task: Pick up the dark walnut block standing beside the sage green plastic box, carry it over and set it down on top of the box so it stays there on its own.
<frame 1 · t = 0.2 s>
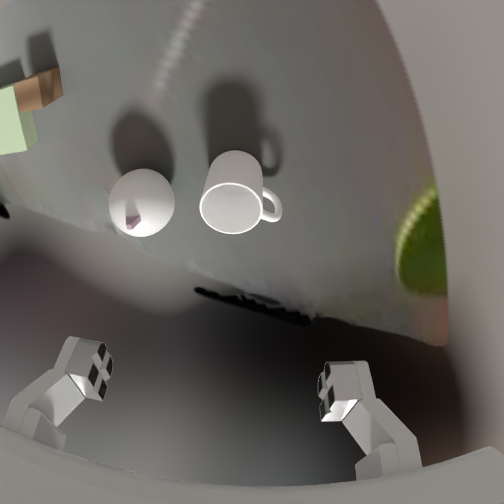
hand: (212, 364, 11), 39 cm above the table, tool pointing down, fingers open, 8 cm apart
cup: (246, 176, 49), on the table
ornament: (150, 184, 50), on the table
walnut block: (49, 83, 36), on the table
base box: (10, 115, 39), on the table
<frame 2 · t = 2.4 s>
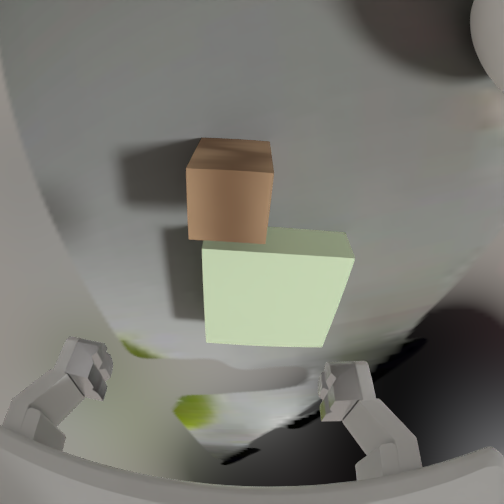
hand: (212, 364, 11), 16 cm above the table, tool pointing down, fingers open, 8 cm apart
ornament: (491, 36, 15), on the table
walnut block: (233, 169, 24), on the table
base box: (270, 276, 31), on the table
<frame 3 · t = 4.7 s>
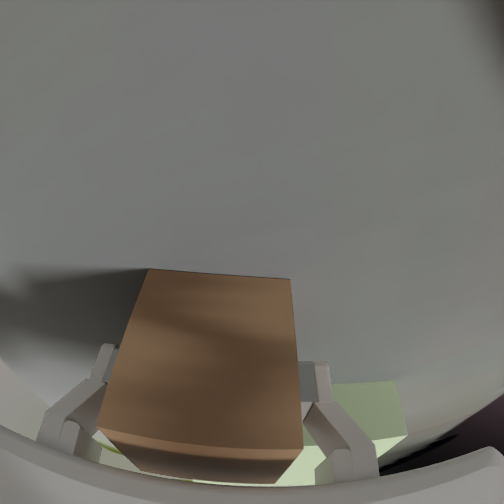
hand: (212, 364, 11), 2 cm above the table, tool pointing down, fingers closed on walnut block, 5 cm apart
walnut block: (218, 321, 12), on the table, touching gripper
base box: (278, 419, 19), on the table
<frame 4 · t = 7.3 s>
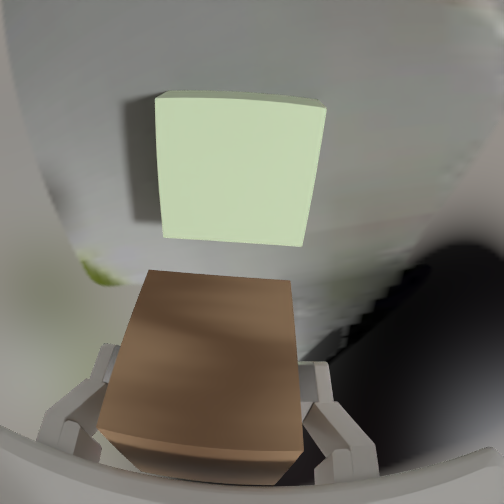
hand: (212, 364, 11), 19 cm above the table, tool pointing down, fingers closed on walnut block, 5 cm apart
walnut block: (218, 322, 12), point 17 cm above the table, touching gripper
base box: (238, 158, 26), on the table
when the fingers open (8 cm above the table, at t = 10.3 s): walnut block drops 2 cm, point 3 cm above the table.
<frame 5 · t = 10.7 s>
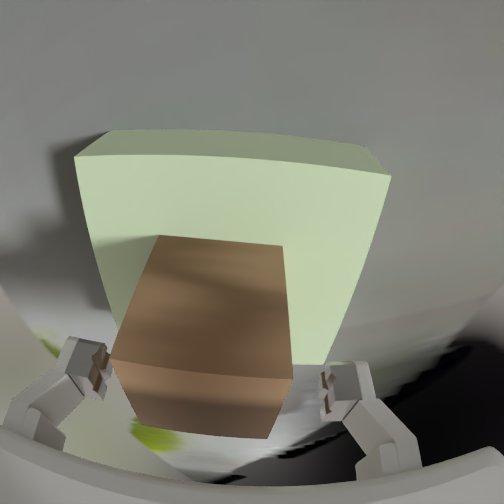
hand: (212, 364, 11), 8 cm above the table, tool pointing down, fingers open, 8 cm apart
walnut block: (217, 286, 14), point 3 cm above the table
base box: (229, 236, 17), on the table
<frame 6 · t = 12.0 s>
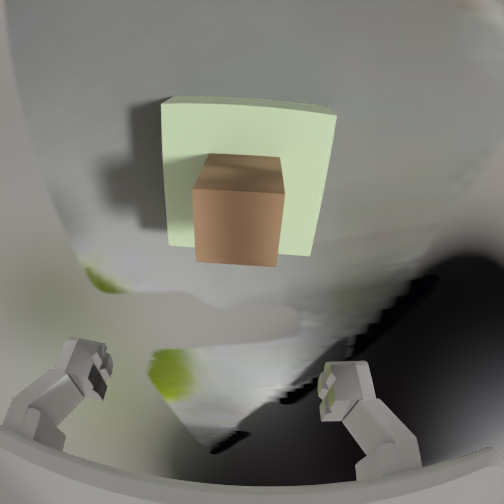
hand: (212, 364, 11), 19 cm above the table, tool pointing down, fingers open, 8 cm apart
walnut block: (242, 186, 23), point 3 cm above the table, touching base box
base box: (245, 165, 26), on the table, touching walnut block
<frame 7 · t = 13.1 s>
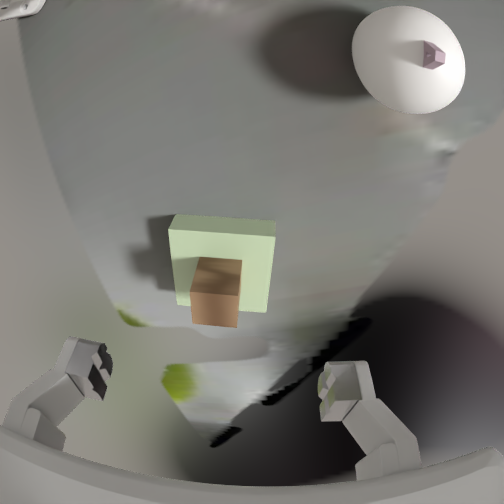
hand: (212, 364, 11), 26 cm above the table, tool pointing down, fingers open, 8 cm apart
ornament: (388, 56, 25), on the table
walnut block: (220, 274, 38), point 3 cm above the table, touching base box
base box: (224, 255, 41), on the table, touching walnut block
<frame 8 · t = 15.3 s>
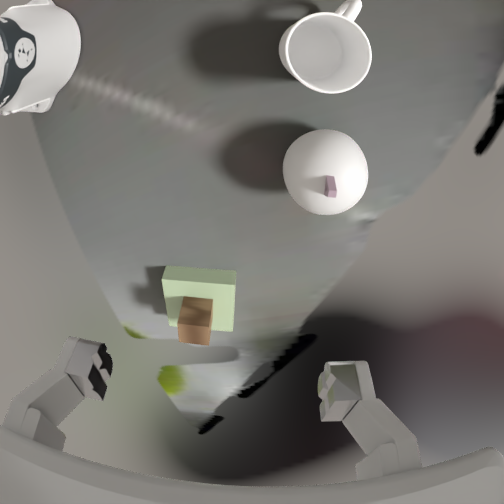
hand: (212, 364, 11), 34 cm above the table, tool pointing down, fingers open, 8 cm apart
cup: (319, 39, 31), on the table
ornament: (318, 156, 41), on the table
walnut block: (198, 307, 54), point 3 cm above the table, touching base box
base box: (202, 291, 57), on the table, touching walnut block
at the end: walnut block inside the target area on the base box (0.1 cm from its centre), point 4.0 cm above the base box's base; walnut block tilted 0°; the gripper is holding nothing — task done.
